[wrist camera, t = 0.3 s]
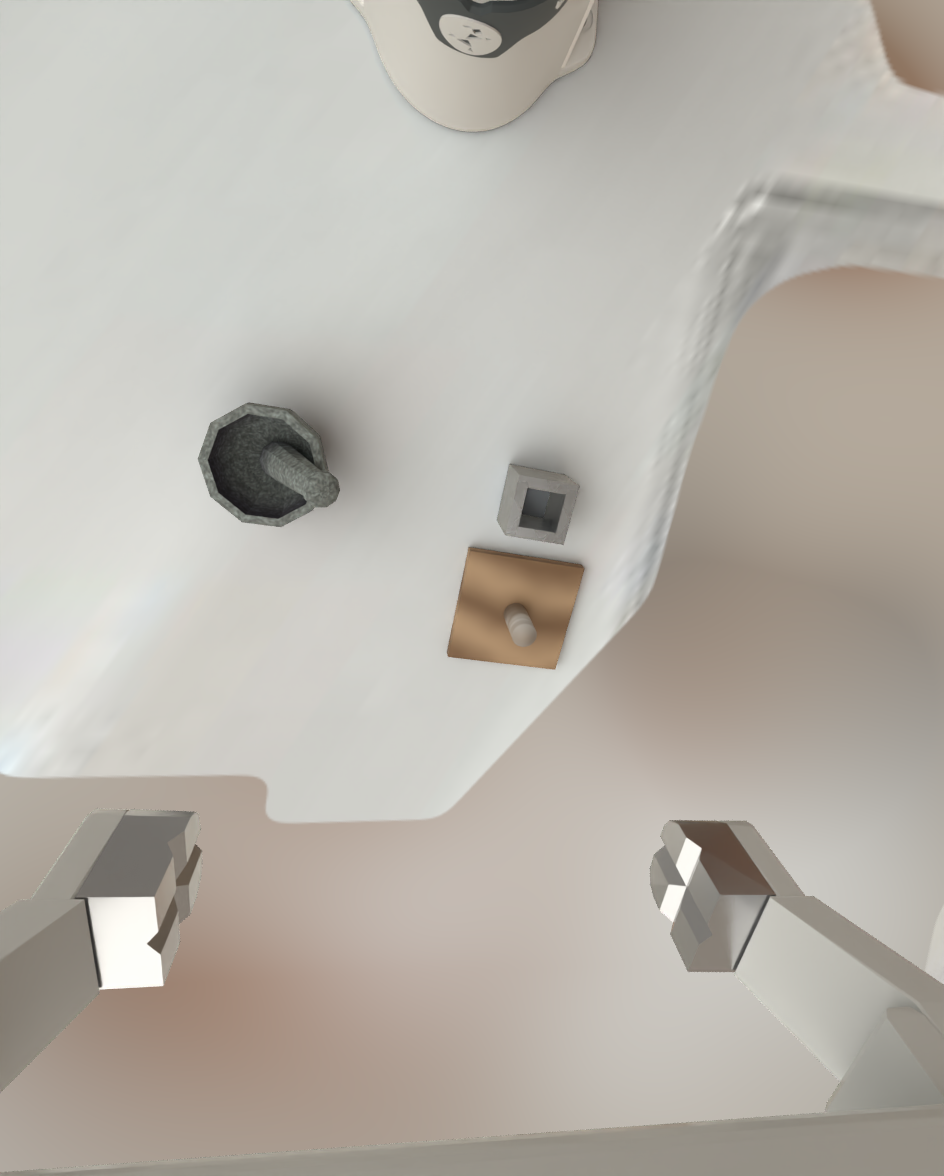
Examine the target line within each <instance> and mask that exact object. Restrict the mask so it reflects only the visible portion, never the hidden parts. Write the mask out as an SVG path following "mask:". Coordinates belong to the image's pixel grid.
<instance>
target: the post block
mask: <svg viewBox="0 0 944 1176" xmlns="http://www.w3.org/2000/svg"><path fill="white" fill-rule="evenodd" d="M583 572H584V567H583V566H582V565H580V564H574V563H568V562H561V561H555V560H548V559H542V558H536V557H529V556H523V555H516V554H510V553H504V552H497V551H491V550H485V549H478V548H472V547H469V549H468V553H467V558H466V563H465V568H464V573H463V577H462V582H461V587H460V592H459V597H458V601H457V606H456V611H455V616H454V621H453V625H452V630H451V635H450V640H449V645H448V649H447V654H448V657H454V658H463V659H471V660H479V661H488V662H496V663H504V664H513V665H521V666H529V667H538V668H546V669H555V668H556V665H557V661H558V658H559V655H560V651H561V648H562V644H563V641H564V637H565V634H566V631H567V627H568V624H569V620H570V617H571V613H572V610H573V607H574V603H575V600H576V596H577V593H578V589H579V586H580V583H581V579H582V576H583Z"/></svg>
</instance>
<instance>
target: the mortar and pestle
mask: <svg viewBox="0 0 944 1176" xmlns="http://www.w3.org/2000/svg"><path fill="white" fill-rule="evenodd" d="M198 461H199V464H200V467H201V470H202V473H203V476H204V479H205V482H206V485H207V488H208V491H209V494H210V497H212V498H213V499H214V500H215V501H216V502H218V503H219V504H220V505H221V506H223V507H224V508H225V509H226V510H228V511H229V512H230V513H231V514H233V515H234V516H235V517H236V518H238V519H239V520H240V521H241V522H245V523H253V524H260V525H268V526H276V527H282V526H284V525H286V524H288V523H289V522H291V521H293V520H295V519H297V518H299V517H301V516H303V515H305V514H307V513H309V512H310V511H312V510H313V509H314V507H328V506H329V505H330V504H332V503H333V502H335V501H336V499H337V496H338V494H339V491H340V489H339V484H338V480H337V479H336V478H335V477H334V476H333V475H332V474H330V473H329V472H328V468H327V464H326V459H325V455H324V451H323V447H322V443H321V439H320V436H319V435H318V434H317V433H316V432H315V431H314V430H313V429H312V428H311V427H310V426H309V425H307V424H306V423H305V422H304V421H303V420H302V419H301V418H300V417H299V416H298V415H297V414H295V413H294V412H293V411H292V410H290V409H286V408H279V407H273V406H267V405H261V404H255V403H247V404H244V405H242V406H240V407H239V408H237V409H235V410H233V411H231V412H230V413H228V414H226V415H224V416H222V417H220V418H219V419H217V420H215V421H213V422H211V423H210V426H209V429H208V431H207V434H206V437H205V440H204V443H203V446H202V448H201V451H200V454H199V457H198Z"/></svg>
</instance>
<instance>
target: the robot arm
mask: <svg viewBox="0 0 944 1176" xmlns="http://www.w3.org/2000/svg"><path fill="white" fill-rule="evenodd" d="M350 1H351V2H352V4H353V5H354V6H355V7H356V9H357V10H358V11H359V12H360V13H361V15H362V16H363V17H364V18H365V20H366V22H367V24H368V26H369V29H370V31H371V34H372V37H373V39H374V42H375V45H376V48H377V51H378V53H379V56H380V58H381V61H382V63H383V65H384V67H385V69H386V71H387V73H388V75H389V76H390V78H391V80H392V81H393V83H394V84H395V86H396V87H397V89H398V90H399V91H400V93H401V94H402V95H403V96H404V97H405V98H406V100H407V101H408V102H409V103H410V104H411V105H412V106H413V107H414V108H416V109H417V110H418V111H419V112H420V113H422V114H423V115H424V116H426V117H427V118H429V119H431V120H432V121H434V122H436V123H438V124H440V125H443V126H445V127H448V128H451V129H455V130H460V131H468V132H479V131H486V130H491V129H494V128H498V127H500V126H503V125H505V124H507V123H509V122H511V121H513V120H514V119H516V118H517V117H519V116H520V115H521V114H523V113H524V112H525V111H526V110H527V109H528V108H530V106H531V105H532V104H533V103H534V102H535V101H536V100H537V99H538V98H539V96H540V95H541V94H542V93H543V92H544V90H545V89H546V88H547V87H548V86H549V85H550V84H551V83H552V82H553V81H554V80H555V79H557V78H560V77H562V76H564V75H566V74H569V73H571V72H573V71H575V70H576V69H578V68H580V67H581V66H583V65H584V64H585V63H586V62H587V61H588V59H589V58H590V56H591V53H592V51H593V48H594V45H595V40H596V26H597V11H598V0H350ZM583 26H584V27H583ZM200 830H201V827H200V817H199V814H198V813H196V812H186V811H164V810H163V811H162V810H140V809H131V810H123V809H102V808H101V809H100V808H97V809H95V810H94V811H92V812H91V813H90V814H88V815H87V816H86V818H85V819H84V820H83V822H82V823H81V825H80V826H79V828H78V829H77V831H76V832H75V834H74V835H73V837H72V838H71V840H70V841H69V843H68V844H67V846H66V847H65V849H64V850H63V851H62V853H61V854H60V856H59V857H58V859H57V860H56V862H55V863H54V865H53V866H52V868H51V869H50V871H49V872H48V874H47V875H46V876H45V878H44V880H43V881H42V883H41V884H40V886H39V887H38V888H37V890H36V891H35V893H34V894H33V896H32V897H31V899H27V900H26V899H25V900H17V901H16V902H14V903H13V904H11V905H10V906H8V907H7V908H5V909H4V910H2V911H0V1093H1V1092H2V1091H3V1090H4V1089H5V1088H6V1087H7V1086H8V1085H9V1084H10V1083H11V1082H12V1081H13V1080H14V1079H15V1078H16V1077H17V1076H18V1075H19V1074H20V1073H21V1072H22V1071H23V1070H24V1069H25V1068H26V1067H27V1066H28V1065H29V1064H30V1063H31V1062H32V1061H33V1060H34V1059H35V1058H36V1057H37V1056H38V1055H39V1054H40V1053H41V1052H42V1051H43V1050H44V1049H45V1048H46V1047H47V1046H48V1045H49V1044H50V1043H51V1042H52V1041H53V1040H54V1039H55V1038H56V1036H58V1035H59V1034H60V1033H61V1032H62V1031H63V1030H64V1029H65V1028H66V1026H68V1025H69V1024H70V1022H72V1020H74V1019H75V1018H76V1017H77V1015H78V1014H80V1013H81V1012H82V1011H83V1010H84V1009H85V1008H86V1007H87V1006H88V1004H89V1003H90V1002H91V1001H92V1000H93V999H94V998H95V997H96V996H97V995H98V994H99V989H115V988H132V987H150V986H164V983H165V980H166V978H167V975H168V972H169V970H170V967H171V964H172V962H173V959H174V956H175V954H176V951H177V949H178V946H179V943H180V932H179V924H180V923H181V922H182V921H183V920H184V919H185V918H187V917H188V916H189V915H190V914H191V911H192V908H193V905H194V903H195V900H196V897H197V893H198V888H199V884H200V880H201V872H202V850H201V849H200V848H199V847H198V846H197V845H196V844H195V843H196V840H197V838H198V835H199V833H200ZM660 837H661V839H662V840H663V842H664V844H665V846H664V847H663V848H661V849H660V850H659V851H658V852H656V853H655V854H654V856H653V860H652V863H651V866H650V885H651V888H652V893H653V897H654V899H655V901H656V904H657V906H658V908H659V910H660V911H661V912H662V913H663V914H664V915H666V916H667V917H668V918H669V919H670V920H671V921H672V922H673V925H672V929H671V936H672V939H673V941H674V943H675V945H676V947H677V949H678V952H679V954H680V956H681V958H682V960H683V962H684V964H685V966H686V969H687V971H688V972H735V973H734V975H735V976H736V977H737V978H738V979H739V980H740V981H741V982H742V983H743V984H744V985H745V986H746V987H747V988H748V989H749V991H750V992H751V993H752V994H754V996H756V997H757V999H758V1000H759V1001H760V1002H761V1003H762V1004H763V1005H764V1006H765V1007H766V1008H767V1009H768V1010H769V1011H770V1012H771V1013H772V1014H773V1015H774V1016H775V1017H776V1018H777V1019H778V1020H779V1021H780V1022H781V1023H782V1024H783V1025H784V1026H785V1027H786V1028H787V1029H788V1030H789V1031H790V1032H791V1033H792V1034H793V1035H794V1036H795V1037H796V1038H797V1039H798V1040H799V1041H800V1042H801V1043H802V1044H803V1045H804V1046H805V1047H806V1048H807V1049H808V1050H809V1051H810V1052H811V1053H812V1054H813V1055H814V1056H815V1057H816V1058H817V1059H818V1060H819V1061H820V1062H821V1064H822V1065H823V1066H824V1067H825V1068H826V1069H827V1070H828V1071H829V1072H830V1073H831V1074H833V1076H834V1077H835V1078H836V1079H837V1080H838V1081H839V1082H840V1083H839V1084H838V1086H837V1088H836V1089H835V1091H834V1092H833V1094H832V1096H831V1097H830V1099H829V1100H828V1102H827V1105H826V1109H825V1112H824V1113H812V1114H798V1115H783V1116H770V1117H756V1118H743V1119H728V1120H714V1121H701V1122H686V1123H673V1124H660V1125H646V1126H645V1125H644V1126H630V1127H617V1128H602V1129H590V1130H589V1129H588V1130H574V1131H560V1132H546V1133H533V1134H518V1135H505V1136H491V1137H477V1138H464V1139H451V1140H436V1141H423V1142H410V1143H395V1144H383V1145H368V1146H354V1147H341V1148H327V1149H314V1150H299V1151H286V1152H272V1153H258V1154H244V1155H231V1156H217V1157H203V1158H189V1159H176V1160H162V1161H150V1162H149V1161H148V1162H135V1163H121V1164H107V1165H95V1166H94V1165H93V1166H79V1167H66V1168H52V1169H38V1170H25V1171H12V1172H0V1176H944V985H943V984H942V983H940V982H939V981H938V980H936V979H935V978H933V977H932V976H930V975H929V974H927V973H926V972H924V971H923V970H921V969H920V968H918V967H917V966H915V965H914V964H912V963H911V962H910V961H908V960H907V959H905V958H904V957H902V956H901V955H899V954H898V953H896V952H895V951H893V950H892V949H890V948H889V947H887V946H886V945H885V944H883V943H882V942H880V941H879V940H877V939H876V938H874V937H873V936H871V935H870V934H868V933H867V932H865V931H864V930H862V929H861V928H859V927H858V926H856V925H855V924H854V923H852V922H851V921H849V920H848V919H846V918H845V917H843V916H842V915H840V914H839V913H837V912H836V911H834V910H833V909H831V908H830V907H829V906H827V905H826V904H824V903H823V902H821V901H820V900H818V899H817V898H815V897H814V896H805V895H804V894H803V892H802V891H801V889H800V888H799V887H798V885H797V884H796V883H795V881H794V880H793V878H792V877H791V876H790V874H789V873H788V872H787V870H786V869H785V868H784V866H783V865H782V864H781V863H780V861H779V860H778V858H777V857H776V856H775V854H774V853H773V852H772V850H771V849H770V848H769V846H768V845H767V843H766V842H765V841H764V839H763V838H762V837H761V835H760V834H759V833H758V832H757V830H756V829H755V827H754V826H753V825H751V824H750V823H748V822H747V821H692V820H690V821H689V820H684V821H683V820H670V821H669V822H668V823H666V824H665V826H664V828H663V830H662V833H661V836H660Z"/></svg>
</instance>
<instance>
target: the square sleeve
mask: <svg viewBox="0 0 944 1176" xmlns="http://www.w3.org/2000/svg"><path fill="white" fill-rule="evenodd" d="M527 488H531V489H536V490H542V491H548V492H550V494H549V498H548V502H547V506H546V510H545V514H544V518H541V517H535V516H529V515H523V514H521V513H522V509H523V505H524V501H525V496H526V492H527ZM578 490H579V485H578V484H577V483H575V482H574V481H573V480H571V479H570V478H569V477H567V476H566V475H565V474H560V473H555V472H549V471H544V470H538V469H533V468H528V467H522V466H517V465H512V464H509V468H508V472H507V477H506V481H505V486H504V490H503V495H502V499H501V503H500V508H499V512H498V517H497V521H498V523H499V525H500V527H501V529H502V530H503V532H504V534H505V535H506V536H512V537H518V538H524V539H531V540H537V541H543V542H549V543H555V544H562V545H564V541H565V537H566V534H567V530H568V526H569V523H570V519H571V515H572V512H573V508H574V504H575V501H576V497H577V493H578Z"/></svg>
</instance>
